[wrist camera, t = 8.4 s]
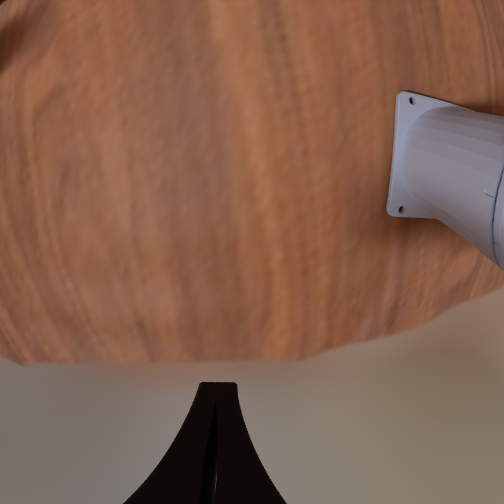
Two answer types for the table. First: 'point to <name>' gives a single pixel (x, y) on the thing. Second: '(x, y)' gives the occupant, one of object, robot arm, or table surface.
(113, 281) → the table surface
